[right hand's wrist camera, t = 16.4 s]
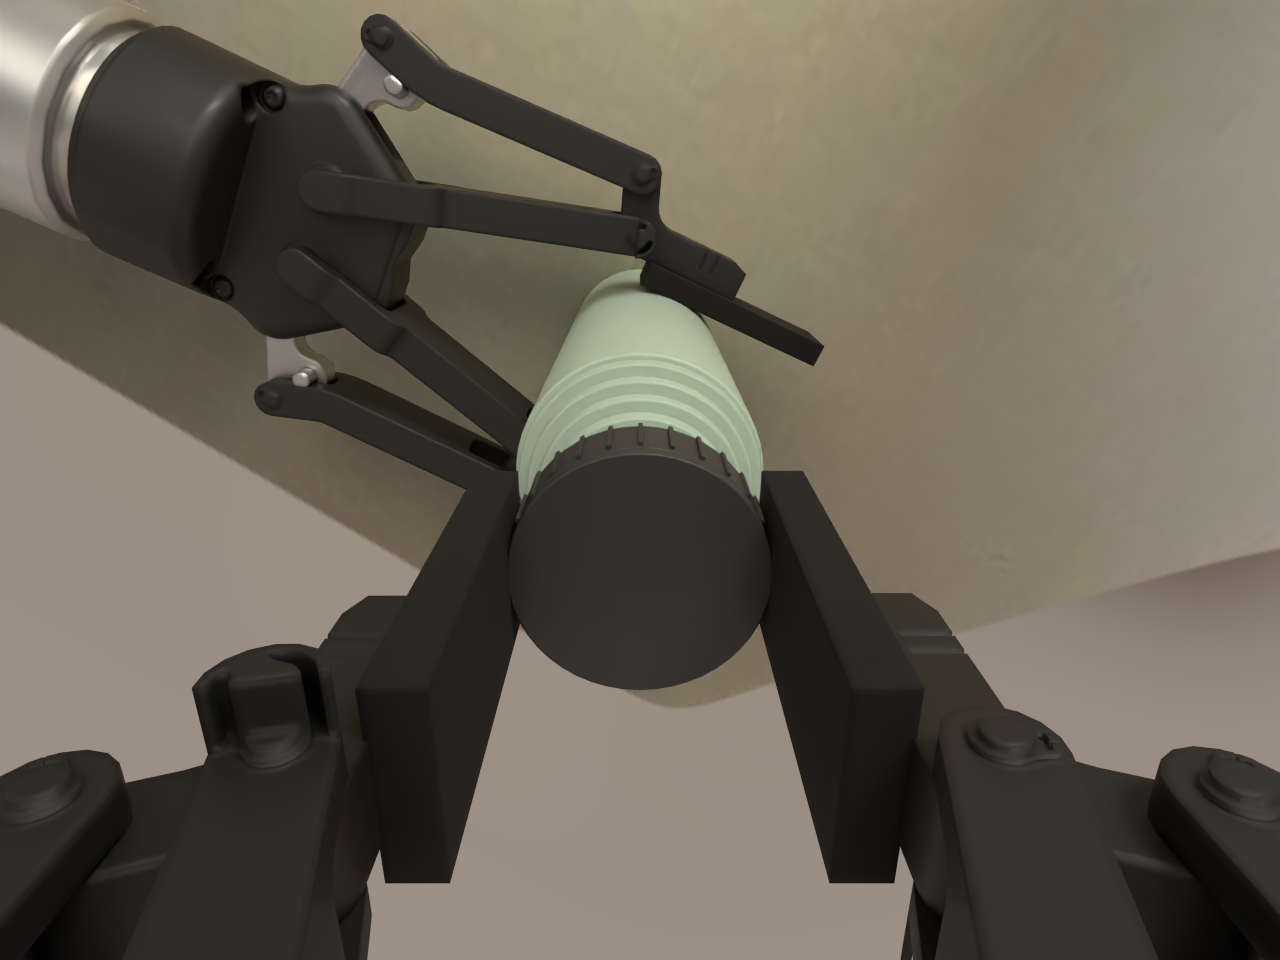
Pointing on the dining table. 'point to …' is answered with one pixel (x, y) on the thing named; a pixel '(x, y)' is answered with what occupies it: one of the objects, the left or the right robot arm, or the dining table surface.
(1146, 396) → the dining table surface
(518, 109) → the left robot arm
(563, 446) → the bottle
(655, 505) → the cap
